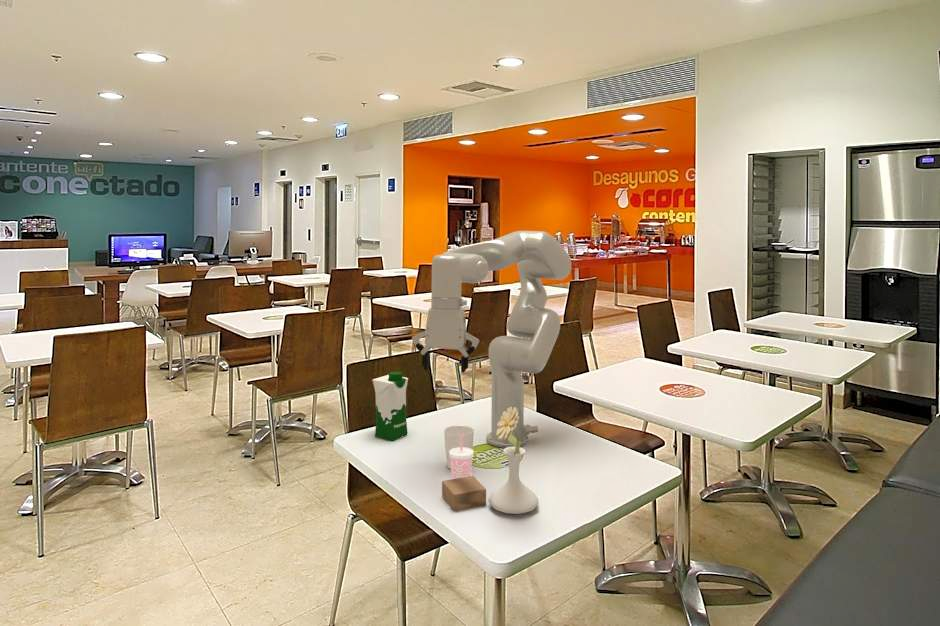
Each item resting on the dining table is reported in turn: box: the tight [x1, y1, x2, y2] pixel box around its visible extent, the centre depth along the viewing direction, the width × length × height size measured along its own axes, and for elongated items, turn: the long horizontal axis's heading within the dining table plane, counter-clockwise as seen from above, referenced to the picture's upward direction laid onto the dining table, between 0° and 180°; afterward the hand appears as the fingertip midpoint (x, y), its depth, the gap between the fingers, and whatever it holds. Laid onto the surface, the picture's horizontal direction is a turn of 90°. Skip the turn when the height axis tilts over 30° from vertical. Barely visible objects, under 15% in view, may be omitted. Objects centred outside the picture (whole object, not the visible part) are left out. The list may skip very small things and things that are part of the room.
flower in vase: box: [488, 407, 539, 515], centre depth 144 cm, size 13×11×25 cm
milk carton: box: [372, 370, 409, 442], centre depth 191 cm, size 9×9×20 cm
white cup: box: [443, 424, 475, 470], centre depth 170 cm, size 8×8×10 cm
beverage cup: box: [449, 432, 475, 479], centre depth 157 cm, size 6×6×14 cm
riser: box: [441, 475, 487, 512], centre depth 150 cm, size 8×8×4 cm
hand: (445, 370), depth 162 cm, fingers open, 9 cm apart
